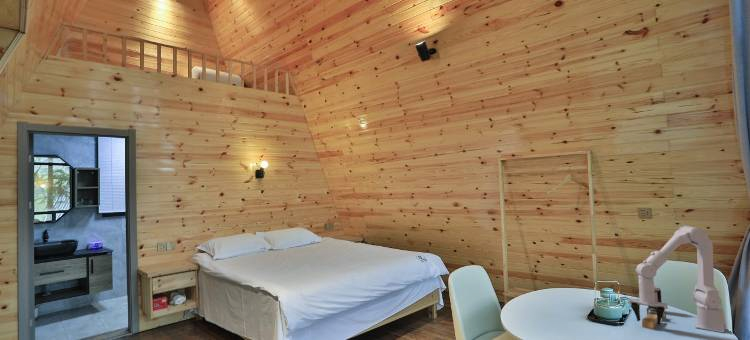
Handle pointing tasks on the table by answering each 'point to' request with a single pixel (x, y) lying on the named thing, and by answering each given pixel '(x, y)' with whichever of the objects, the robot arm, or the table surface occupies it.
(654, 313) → the dispenser
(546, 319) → the table surface
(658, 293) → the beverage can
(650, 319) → the orange brown rectangular block
